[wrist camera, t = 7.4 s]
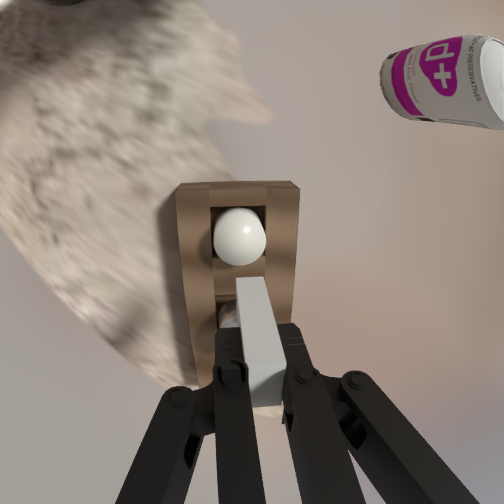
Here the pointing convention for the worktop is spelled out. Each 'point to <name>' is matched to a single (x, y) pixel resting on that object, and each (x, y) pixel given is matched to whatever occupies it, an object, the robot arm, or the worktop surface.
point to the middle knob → (228, 315)
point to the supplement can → (448, 81)
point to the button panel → (223, 274)
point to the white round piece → (238, 235)
